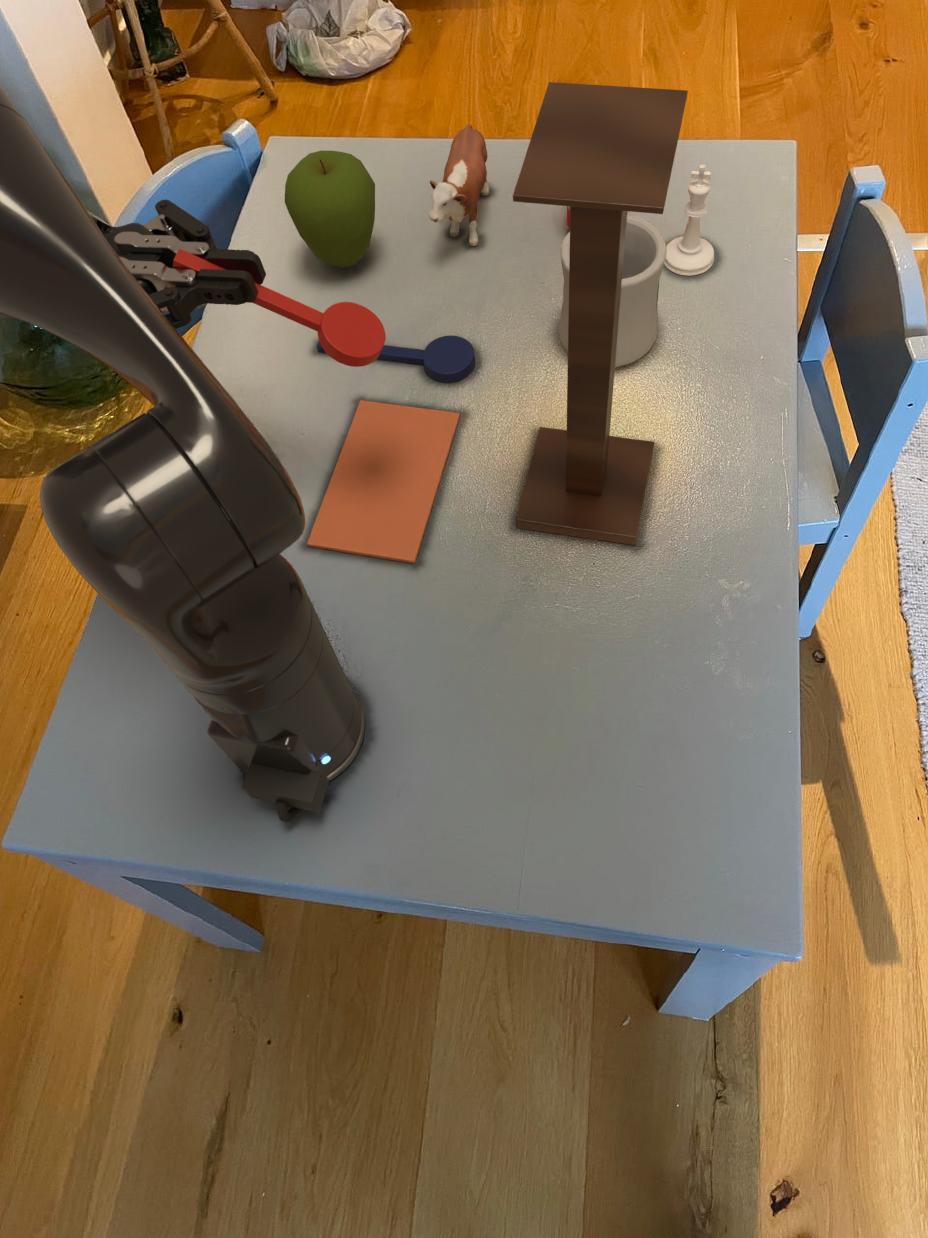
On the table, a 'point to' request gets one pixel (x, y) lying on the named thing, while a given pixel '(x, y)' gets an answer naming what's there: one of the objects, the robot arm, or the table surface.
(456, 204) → the bull figurine
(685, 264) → the chess piece
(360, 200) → the apple
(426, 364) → the navy spoon
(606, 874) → the table surface
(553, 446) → the spoon stand
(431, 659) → the table surface
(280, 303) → the red spoon
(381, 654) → the table surface
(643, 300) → the mug
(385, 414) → the terracotta mat
